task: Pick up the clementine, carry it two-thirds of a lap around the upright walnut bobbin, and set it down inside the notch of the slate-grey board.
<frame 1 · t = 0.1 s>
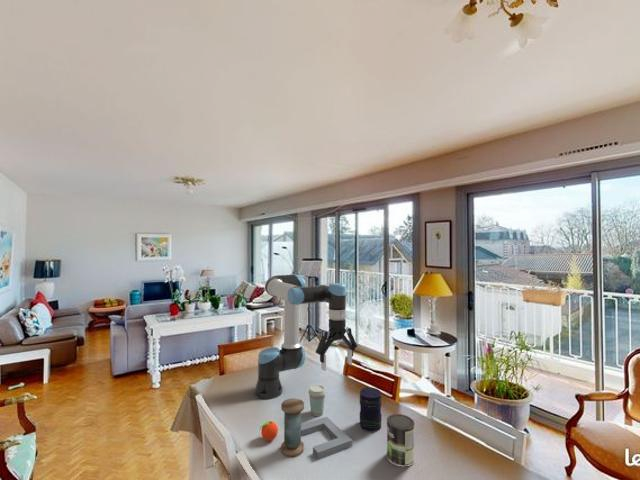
hand: (336, 366, 138), 28 cm above the table, tool pointing down, fingers open, 13 cm apart
bobbin: (292, 449, 124), on the table
notched board: (322, 438, 131), on the table
coffee can: (400, 458, 120), on the table
clementine: (268, 439, 131), on the table
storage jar: (370, 425, 141), on the table
coffee cup: (317, 413, 152), on the table
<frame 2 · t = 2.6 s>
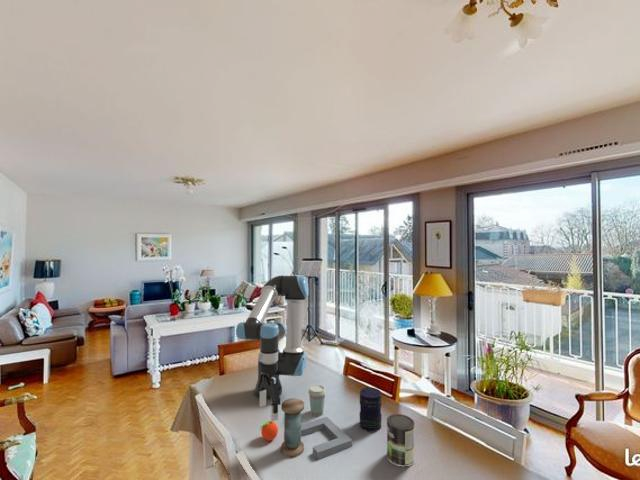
hand: (268, 412, 131), 11 cm above the table, tool pointing down, fingers open, 13 cm apart
nothing on the table moved.
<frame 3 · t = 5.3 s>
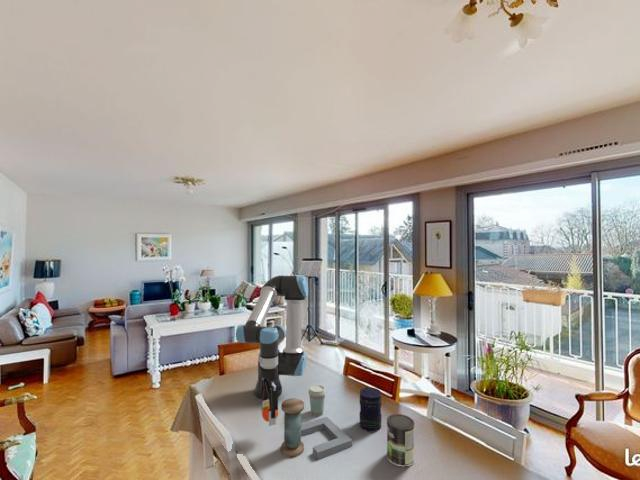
hand: (268, 420, 132), 8 cm above the table, tool pointing down, fingers closed on clementine, 7 cm apart
clementine: (268, 421, 132), point 7 cm above the table, touching gripper
everything else where it was.
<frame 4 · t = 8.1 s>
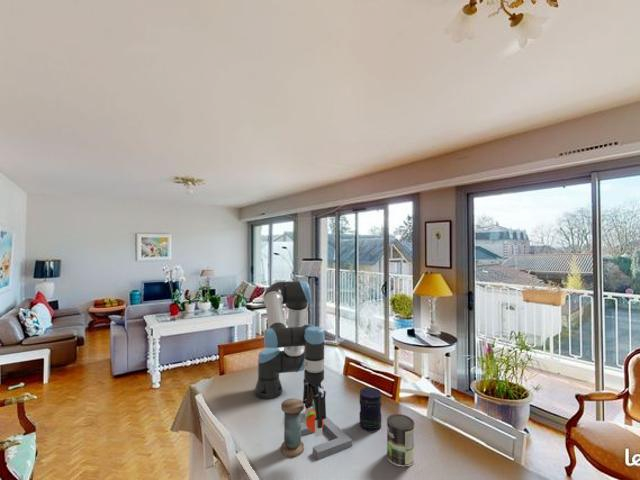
hand: (313, 430, 118), 11 cm above the table, tool pointing down, fingers closed on clementine, 7 cm apart
clementine: (313, 431, 118), point 11 cm above the table, touching gripper
everything else where it was.
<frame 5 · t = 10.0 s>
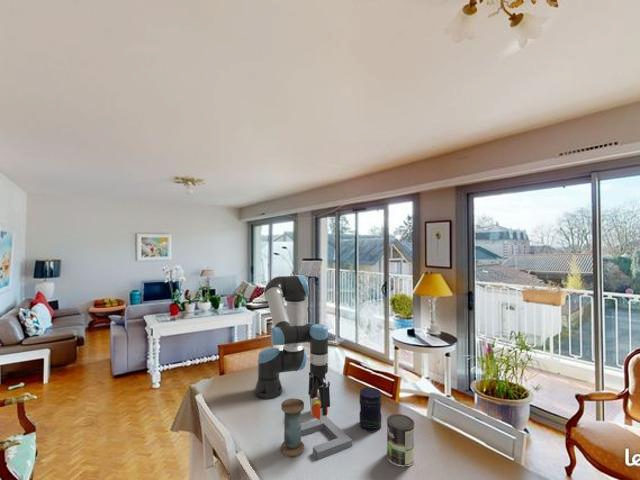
hand: (318, 417, 130), 9 cm above the table, tool pointing down, fingers closed on clementine, 7 cm apart
clementine: (318, 419, 130), point 9 cm above the table, touching gripper
everything else where it was.
when the fingers open (2 cm above the table, at t = 11.5 s): clementine drops 2 cm, on the table.
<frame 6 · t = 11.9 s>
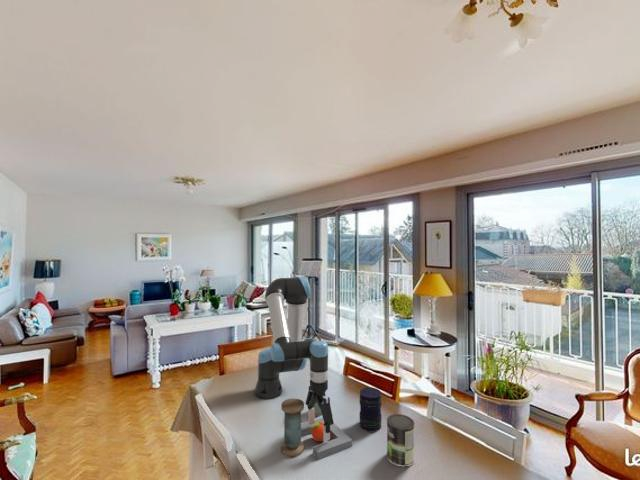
hand: (318, 431, 130), 4 cm above the table, tool pointing down, fingers open, 12 cm apart
clementine: (318, 440, 130), on the table
everything else where it was.
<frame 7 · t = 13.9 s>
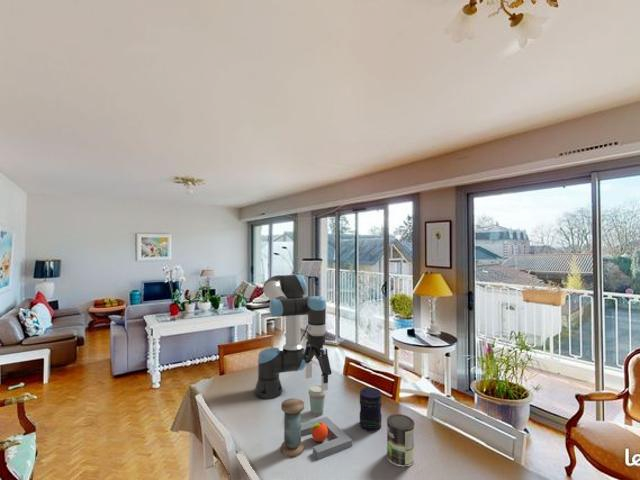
hand: (316, 383, 132), 23 cm above the table, tool pointing down, fingers open, 13 cm apart
nothing on the table moved.
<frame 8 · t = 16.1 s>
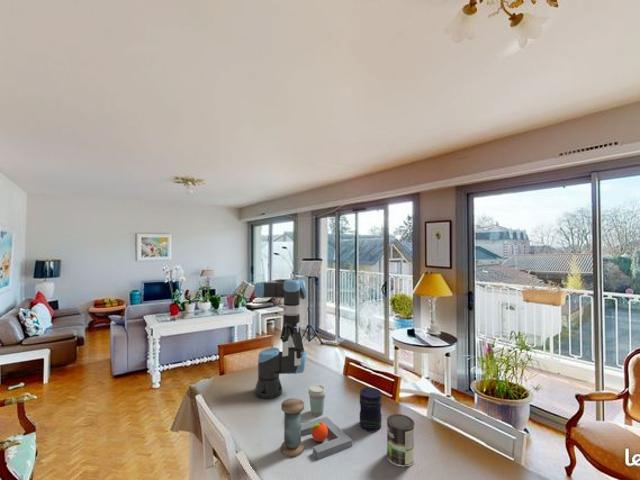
hand: (291, 360, 143), 29 cm above the table, tool pointing down, fingers open, 13 cm apart
nothing on the table moved.
at the end: clementine inside the target area on the notched board (0.1 cm from its centre), point 0.0 cm above the notched board's base; the gripper is holding nothing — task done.
